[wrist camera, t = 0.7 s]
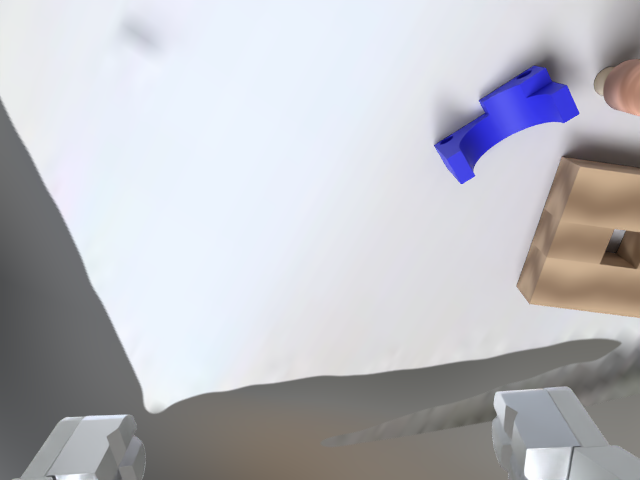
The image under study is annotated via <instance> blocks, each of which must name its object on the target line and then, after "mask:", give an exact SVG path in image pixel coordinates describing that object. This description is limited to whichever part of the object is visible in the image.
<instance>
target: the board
mask: <svg viewBox="0 0 640 480" xmlns="http://www.w3.org/2000/svg"><path fill="white" fill-rule="evenodd" d="M614 229H620V230H626V232H625V234H624V237H623V239H622V241H621V244H620V246H619V248H618V251H617V253H610V252H605V250H606V248H607V245H608V243H609V241H610V238H611V236H612V234H613V231H614ZM517 288H518V289H519V290H520V292H521V293H522V294H523V296H524V297H525V298H526V300H527V301H528V303H529V304H534V305H542V306H550V307H558V308H566V309H574V310H581V311H589V312H597V313H605V314H613V315H621V316H629V317H637V318H640V168H638V167H631V166H624V165H617V164H610V163H603V162H596V161H588V160H581V159H574V158H567V157H562V158H561V161H560V164H559V166H558V169H557V172H556V175H555V178H554V181H553V184H552V186H551V189H550V192H549V195H548V198H547V201H546V204H545V206H544V209H543V212H542V215H541V218H540V221H539V224H538V226H537V229H536V232H535V235H534V238H533V241H532V244H531V246H530V249H529V252H528V255H527V258H526V261H525V264H524V266H523V269H522V272H521V275H520V278H519V281H518V284H517Z"/></svg>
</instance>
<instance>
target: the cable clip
mask: <svg viewBox="0 0 640 480" xmlns="http://www.w3.org/2000/svg"><path fill="white" fill-rule="evenodd" d="M479 102H480V104H481V106H482V108H483V110H484V111H485V114H483V115H481V116H480V117H478V118H477V119H475V120H473V121H472V122H470V123H469V124H467V125H465V126H464V127H462V128H461V129H459V130H458V131H456V132H454V133H453V134H451V135H450V136H448V137H446V138H445V139H443V140H442V141H440V142H438V143H437V144H435V145H434V146H435V148H436V150H437V151H438V153H439V155H440V157H441V158H442V160H443V162H444V163H445V165H446V167H447V168H448V170H449V171H450V172H451V173H452V174H453V175H454V177H455V178H456V179H457V180H458V181H459V182H460V184H463V183H464V182H466V181H468V180H469V179H471V178H473V177H474V176H475V175H474V173H473V169H474V166H475V164H476V162H477V161H478V160H479V158H480V157H481V156H482V155H483V154H484V153H485V152H486V151H487V150H489V149H490V148H491V147H493V146H494V145H495V144H497V143H498V142H500V141H501V140H503V139H505V138H507V137H508V136H510V135H512V134H514V133H516V132H518V131H521V130H523V129H526V128H528V127H531V126H534V125H538V124H542V123H547V122H562V123H565V122H567V121H568V120H570V119H572V118H573V117H575V116H577V115H578V114H579V111H578V109H577V107H576V105H575V102H574V100H573V98H572V96H571V93H570V91H569V89H568V87H567V85H564V84H559V83H555V82H552V80H551V78H550V76H549V74H548V72H547V69H546V68H544V67H538V66H532V67H531V68H529V69H528V70H526V71H524V72H523V73H521V74H520V75H518V76H517V77H515V78H513V79H512V80H510V81H509V82H507V83H506V84H504V85H502V86H501V87H499V88H498V89H496V90H495V91H493V92H491V93H490V94H488V95H487V96H485V97H484V98H482V99H481V100H479Z"/></svg>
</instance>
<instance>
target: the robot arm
mask: <svg viewBox="0 0 640 480" xmlns="http://www.w3.org/2000/svg"><path fill="white" fill-rule="evenodd" d="M494 408H495V410H496V412H497V415H498V416H497V417H496V418H495V419H494V420H493V421H492V437H493V445H494V449H495V453H496V456H497V459H498V462H499V464H500V467H502V468H503V469H504V470H505V471H507V472H508V473H509V475H508V476H509V477H508V480H640V459H639V458H637V457H636V456H634V455H632V454H631V453H629V452H628V451H626V450H624V449H623V448H621V447H619V446H618V445H611V446H610V445H609V443H608V442H607V440H606V439H605V438H604V436H603V435H602V433H601V432H600V430H599V429H598V427H597V426H596V425H595V423H594V422H593V420H592V419H591V417H590V416H589V414H588V413H587V411H586V410H585V408H584V407H583V405H582V404H581V403H580V401H579V400H578V398H577V397H576V395H575V394H574V392H573V391H572V389H570V388H569V387H567V386H566V387H552V388H543V389H528V390H514V391H500V392H496V394H495V397H494ZM136 429H137V425H136V422H135V419H134V417H133V416H131V415H105V416H86V417H66V418H64V419H62V420H61V421H59V423H58V424H57V425H56V427H55V428H54V430H53V431H52V433H51V434H50V436H49V437H48V439H47V440H46V442H45V443H44V444H43V446H42V448H41V449H40V450H39V452H38V453H37V455H36V456H35V458H34V459H33V460H32V462H31V463H30V465H29V466H28V468H27V469H26V471H25V472H24V474H23V475H22V477H21V478H16V479H12V480H142V477H143V475H144V468H145V462H146V458H145V449H144V446H143V442H142V441H141V440H139V439H138V438H137V437H136V436H134V433H135V431H136Z"/></svg>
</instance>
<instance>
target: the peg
mask: <svg viewBox="0 0 640 480" xmlns="http://www.w3.org/2000/svg"><path fill="white" fill-rule="evenodd" d="M594 89H595V91H596V92H597V93H598V94H599V95H601V96H604V99H605V101H606V103H607V104H608V105H609V106H610V107H611V108H613V109H616V110H619V111H623V112H626V113H630V114H633V115H637V116H640V59H631V60H627V61H624V62H622V63H620V64H619V65H617V66H616V67H607V68H605V69H603V70H602V71H600V72H599V73H598V75H597V76H596V78H595V81H594Z"/></svg>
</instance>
